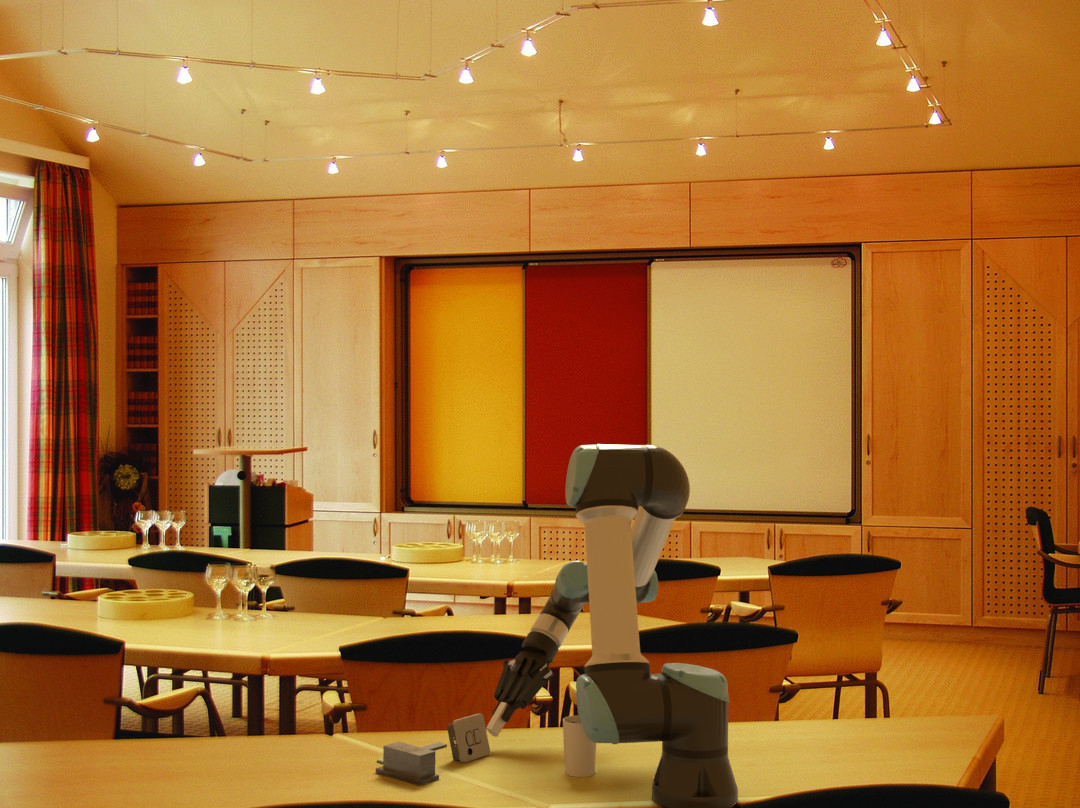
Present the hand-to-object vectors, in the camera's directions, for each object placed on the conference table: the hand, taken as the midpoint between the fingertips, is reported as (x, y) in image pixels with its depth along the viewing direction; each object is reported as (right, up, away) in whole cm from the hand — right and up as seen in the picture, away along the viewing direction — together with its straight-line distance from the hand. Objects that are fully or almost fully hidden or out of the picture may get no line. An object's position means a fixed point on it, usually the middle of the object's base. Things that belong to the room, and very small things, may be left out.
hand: (491, 732), depth 222 cm
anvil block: (-15, -3, -18) cm, 24 cm away
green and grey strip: (-16, -3, -4) cm, 16 cm away
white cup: (+18, -3, -15) cm, 23 cm away
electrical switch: (-5, -3, -6) cm, 8 cm away
